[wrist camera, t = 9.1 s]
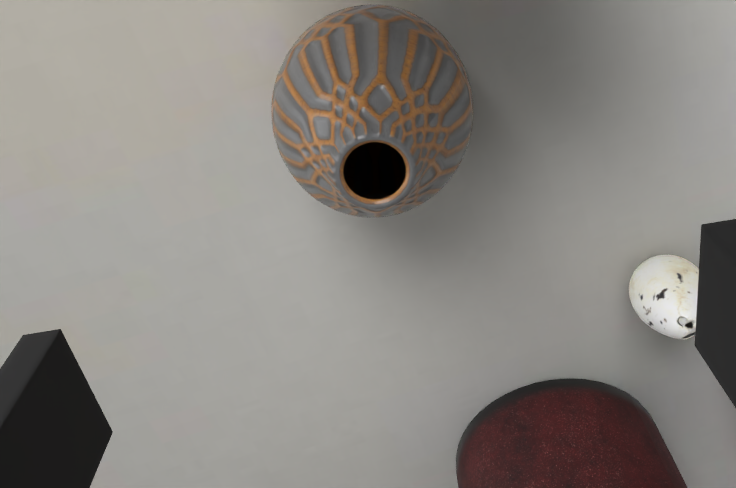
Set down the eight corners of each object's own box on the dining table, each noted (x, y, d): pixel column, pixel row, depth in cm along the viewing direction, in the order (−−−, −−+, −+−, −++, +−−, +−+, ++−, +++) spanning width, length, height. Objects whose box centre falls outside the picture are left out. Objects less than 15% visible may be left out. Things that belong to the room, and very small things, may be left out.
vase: (246, 53, 27) (201, 139, 19) (400, -51, 25) (417, -2, 18) (346, 190, 30) (341, 310, 22) (490, 105, 28) (537, 205, 21)
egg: (629, 308, 33) (670, 378, 29) (607, 256, 32) (646, 323, 27) (696, 280, 32) (747, 349, 28) (676, 227, 31) (727, 290, 27)
